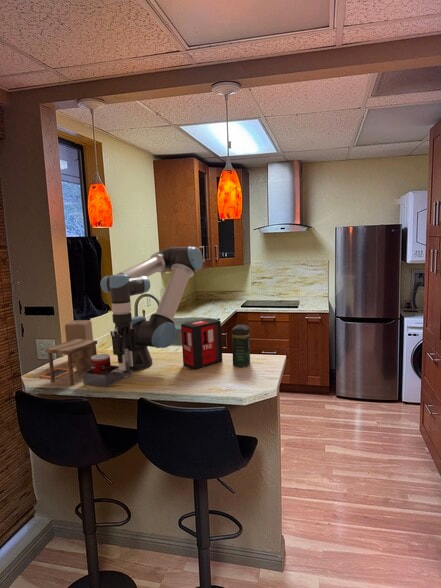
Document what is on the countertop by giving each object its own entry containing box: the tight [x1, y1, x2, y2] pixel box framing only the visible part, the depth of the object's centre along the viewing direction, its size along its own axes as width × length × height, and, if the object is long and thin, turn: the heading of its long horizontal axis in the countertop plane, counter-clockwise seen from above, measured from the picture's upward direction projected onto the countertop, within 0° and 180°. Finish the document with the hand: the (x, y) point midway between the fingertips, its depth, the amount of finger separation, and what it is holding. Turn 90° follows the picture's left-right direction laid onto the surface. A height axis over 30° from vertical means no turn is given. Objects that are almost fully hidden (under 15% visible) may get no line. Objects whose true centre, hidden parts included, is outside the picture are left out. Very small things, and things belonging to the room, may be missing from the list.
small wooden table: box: [45, 339, 98, 386], centre depth 176 cm, size 13×17×15 cm
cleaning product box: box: [180, 317, 223, 371], centre depth 186 cm, size 16×9×20 cm, turn 131°
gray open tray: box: [81, 348, 133, 388], centre depth 168 cm, size 20×12×15 cm, turn 67°
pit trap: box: [38, 367, 75, 381], centre depth 182 cm, size 10×11×1 cm
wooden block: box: [64, 319, 94, 364], centre depth 199 cm, size 10×10×20 cm
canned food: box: [91, 353, 112, 375], centre depth 170 cm, size 8×8×11 cm
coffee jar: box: [231, 324, 251, 369], centre depth 183 cm, size 10×8×19 cm
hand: (126, 367), depth 164 cm, fingers open, 4 cm apart
